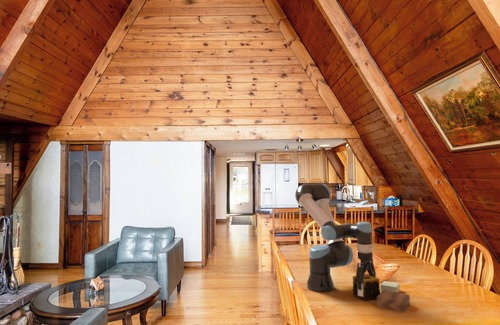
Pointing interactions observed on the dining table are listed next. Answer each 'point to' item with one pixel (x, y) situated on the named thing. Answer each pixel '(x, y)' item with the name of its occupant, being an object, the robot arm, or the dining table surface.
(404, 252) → the dining table surface
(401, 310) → the walnut plinth
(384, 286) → the sage block
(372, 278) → the candle
